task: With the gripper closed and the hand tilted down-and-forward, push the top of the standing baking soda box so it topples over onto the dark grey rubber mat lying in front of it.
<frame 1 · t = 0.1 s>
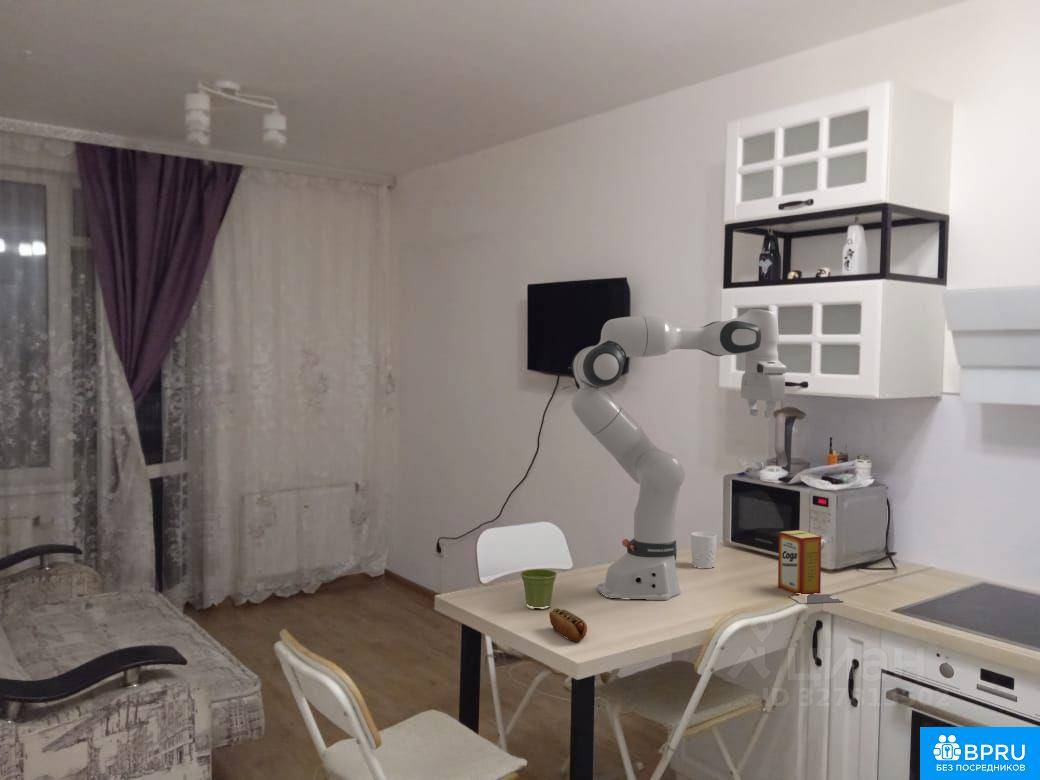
hand: (761, 416, 232), 48 cm above the table, tool pointing down, fingers open, 8 cm apart
baking soda box: (798, 591, 230), on the table
mat: (815, 599, 221), on the table
hot dog: (568, 636, 191), on the table
plant pot: (538, 607, 213), on the table
white cup: (703, 567, 257), on the table
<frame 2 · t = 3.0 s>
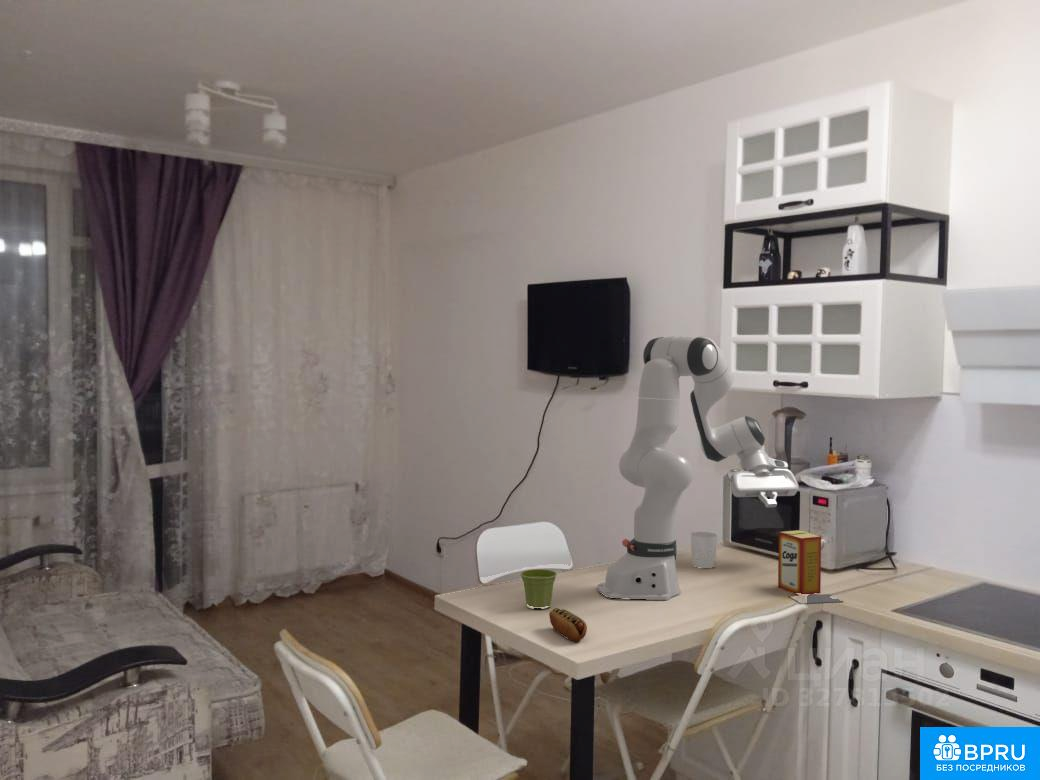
hand: (771, 506, 246), 20 cm above the table, tool tilted 45°, fingers closed
nothing on the table moved.
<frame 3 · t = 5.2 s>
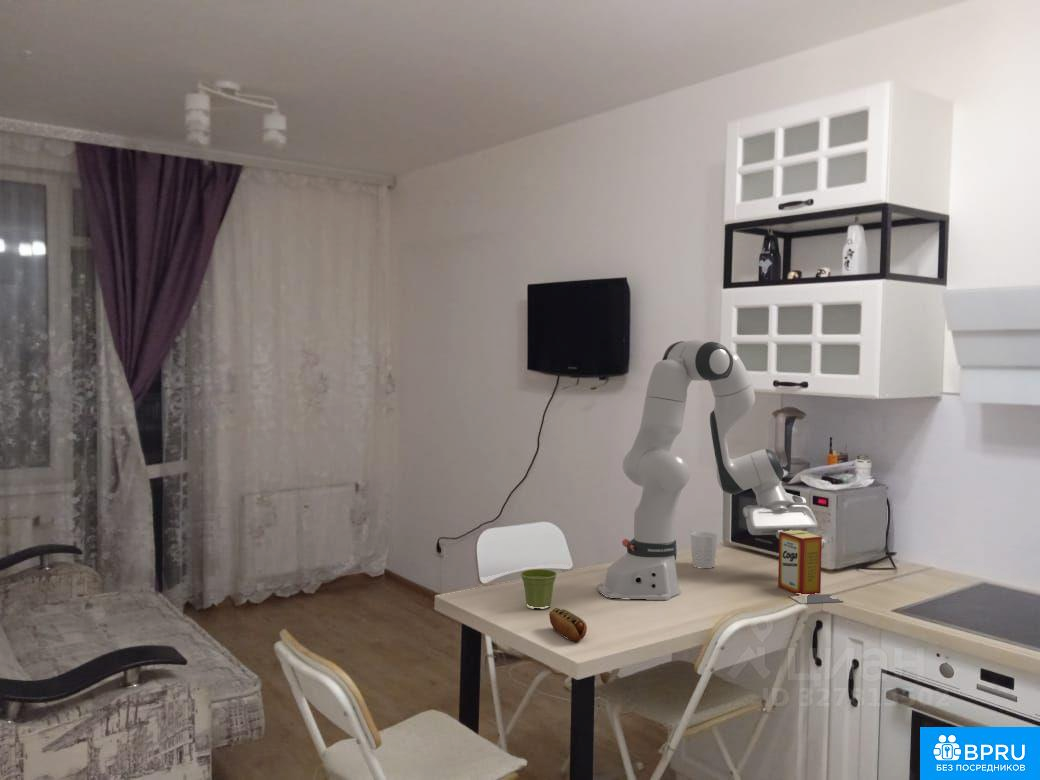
hand: (789, 545, 235), 11 cm above the table, tool tilted 45°, fingers closed
baking soda box: (799, 590, 230), on the table, touching gripper
everything else where it was.
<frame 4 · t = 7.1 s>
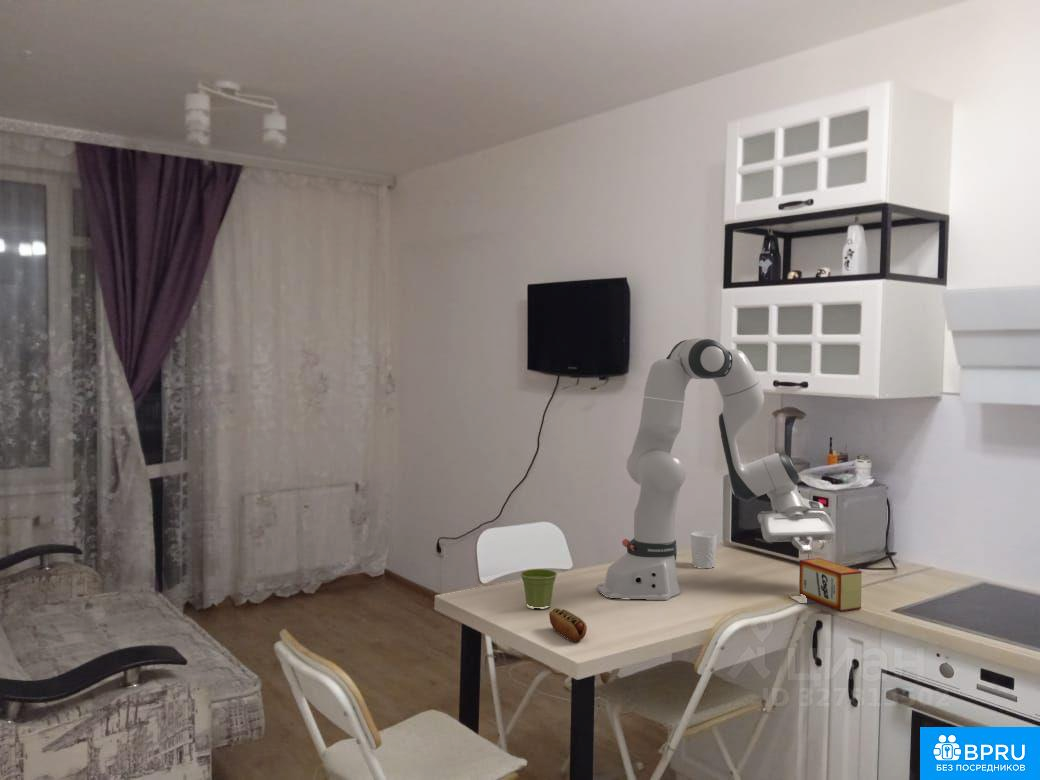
hand: (806, 552, 225), 11 cm above the table, tool tilted 45°, fingers closed
baking soda box: (808, 576, 225), point 5 cm above the table, touching mat
everything else where it was.
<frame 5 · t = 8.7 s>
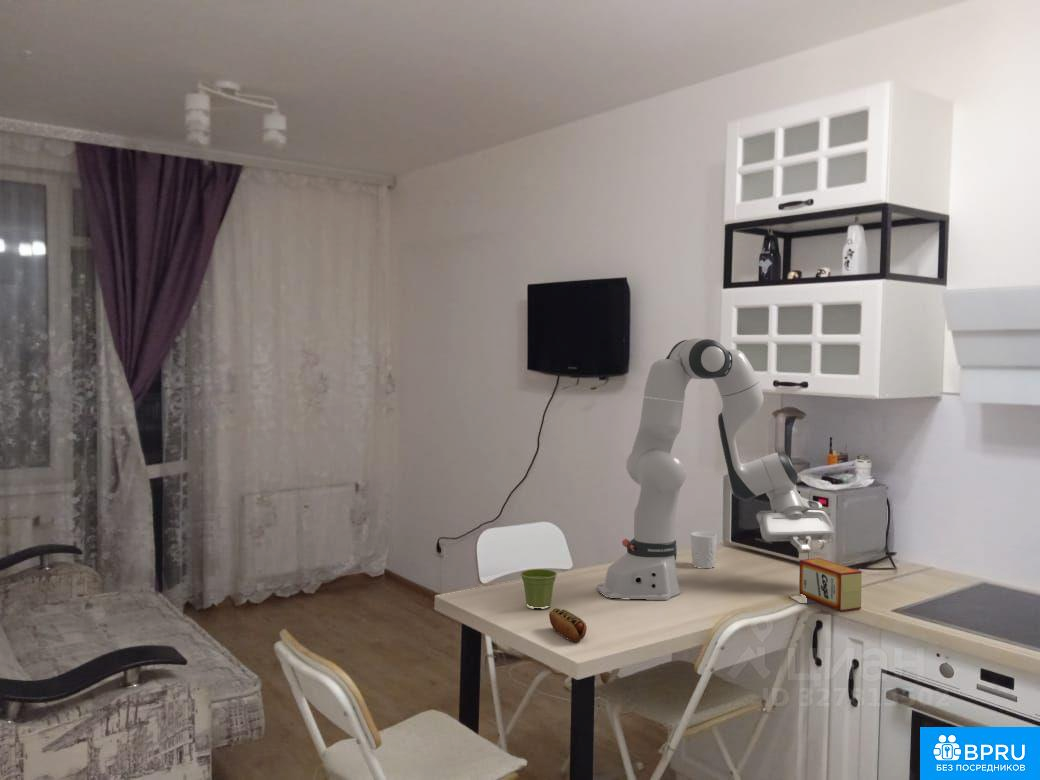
hand: (805, 552, 226), 11 cm above the table, tool tilted 45°, fingers closed
nothing on the table moved.
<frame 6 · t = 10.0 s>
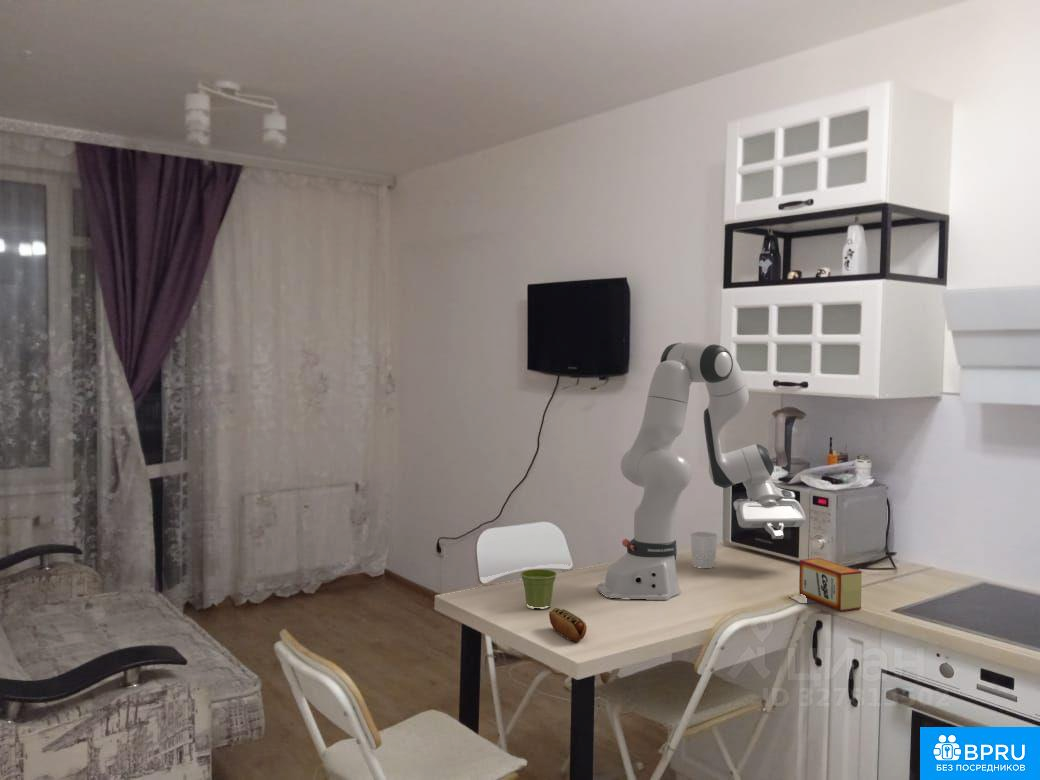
hand: (778, 537, 241), 12 cm above the table, tool tilted 45°, fingers closed
nothing on the table moved.
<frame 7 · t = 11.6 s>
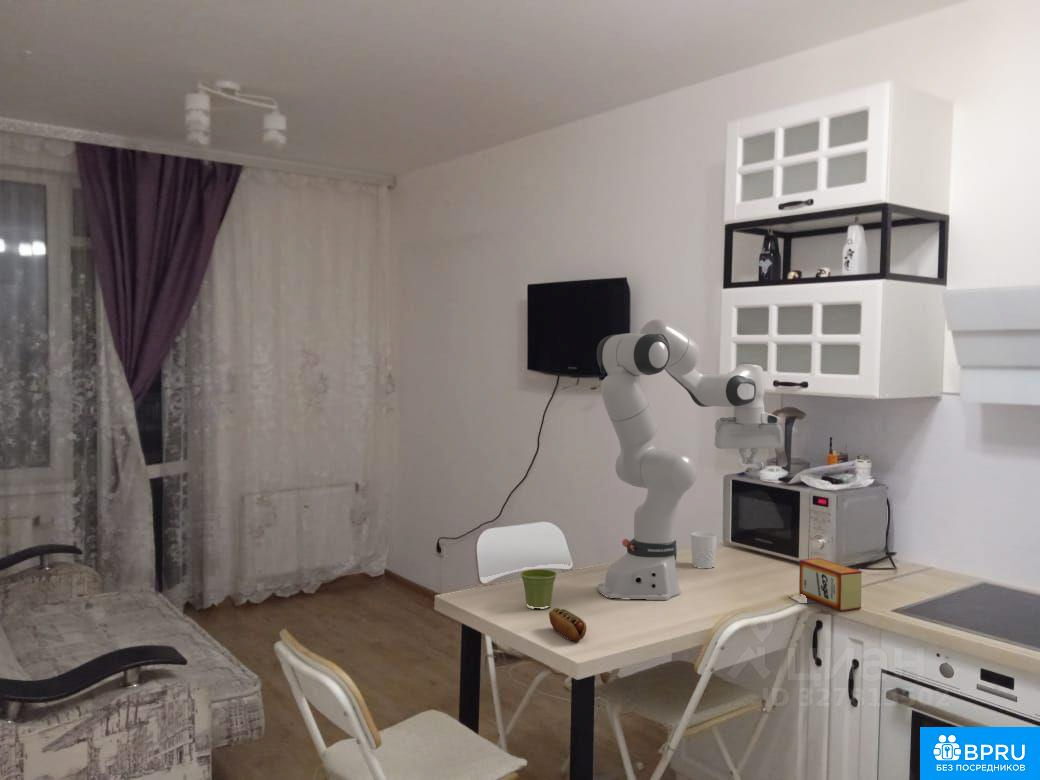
hand: (748, 463, 248), 33 cm above the table, tool pointing down, fingers closed
nothing on the table moved.
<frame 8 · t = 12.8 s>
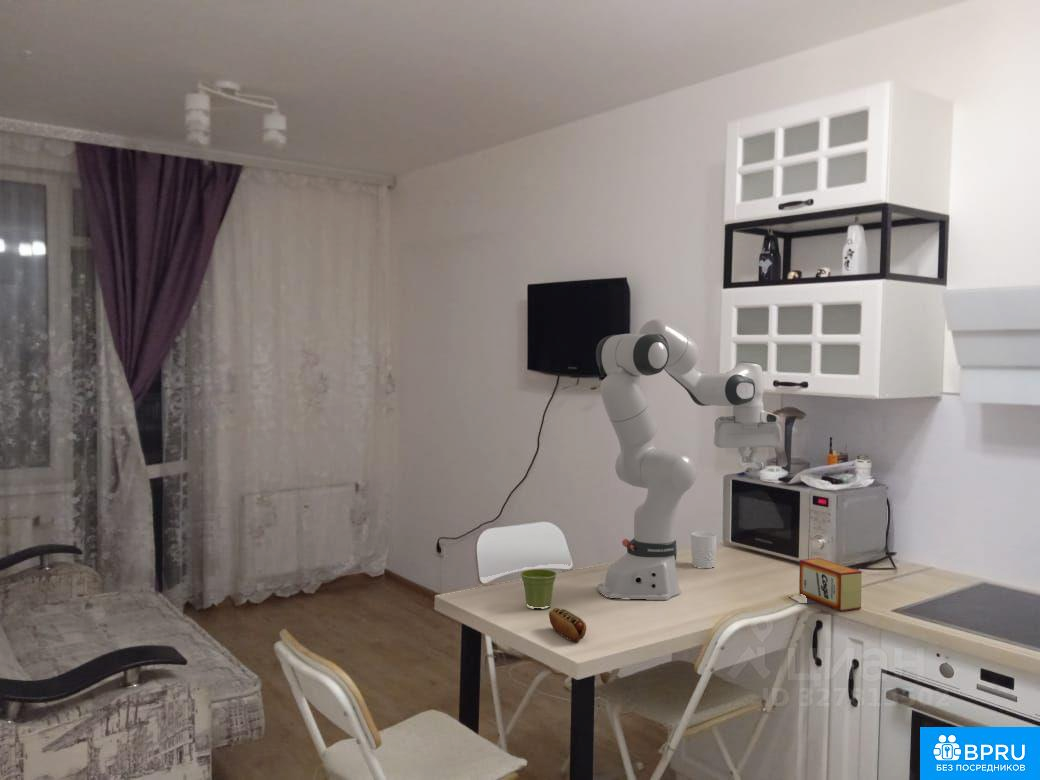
hand: (747, 462, 248), 33 cm above the table, tool pointing down, fingers closed
nothing on the table moved.
at the end: baking soda box tilted 90°; baking soda box inside the target area (5.8 cm from its centre), point 4.9 cm above the table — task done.
